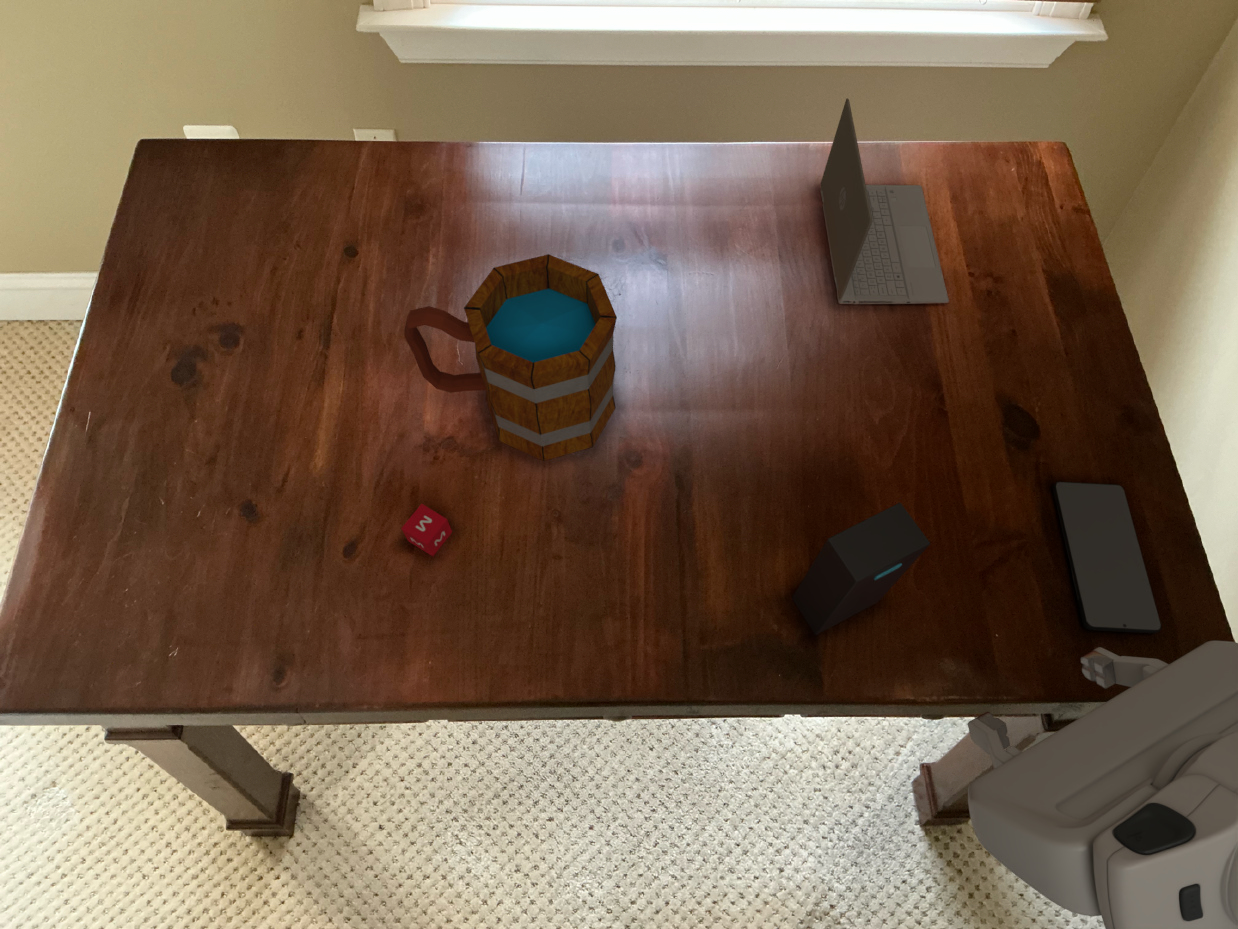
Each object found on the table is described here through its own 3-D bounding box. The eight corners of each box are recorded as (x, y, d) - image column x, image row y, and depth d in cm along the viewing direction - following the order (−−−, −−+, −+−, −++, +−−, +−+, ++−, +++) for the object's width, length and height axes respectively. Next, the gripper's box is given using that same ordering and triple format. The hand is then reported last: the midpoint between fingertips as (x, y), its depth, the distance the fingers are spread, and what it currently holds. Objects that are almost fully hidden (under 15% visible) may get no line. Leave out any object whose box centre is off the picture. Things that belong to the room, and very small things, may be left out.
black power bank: (879, 603, 76) (932, 545, 64) (816, 637, 75) (857, 584, 62) (852, 564, 78) (899, 500, 66) (790, 596, 76) (825, 537, 64)
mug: (619, 354, 89) (622, 258, 76) (610, 465, 83) (611, 381, 69) (438, 343, 89) (409, 245, 76) (415, 452, 83) (379, 366, 70)
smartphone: (1123, 483, 81) (1164, 632, 74) (1118, 488, 82) (1158, 635, 75) (1053, 480, 81) (1086, 627, 74) (1048, 484, 82) (1081, 631, 75)
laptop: (947, 306, 93) (995, 221, 81) (836, 305, 93) (868, 220, 81) (919, 189, 101) (960, 97, 90) (817, 188, 101) (845, 96, 89)
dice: (433, 556, 78) (426, 544, 75) (407, 541, 78) (400, 528, 76) (452, 532, 79) (447, 519, 76) (427, 516, 80) (421, 503, 77)
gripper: (1400, 680, 42) (1150, 582, 55) (1092, 883, 37) (897, 725, 50) (1399, 775, 44) (1159, 660, 57) (1108, 978, 40) (917, 804, 52)
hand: (1034, 692), depth 53 cm, fingers open, 8 cm apart
